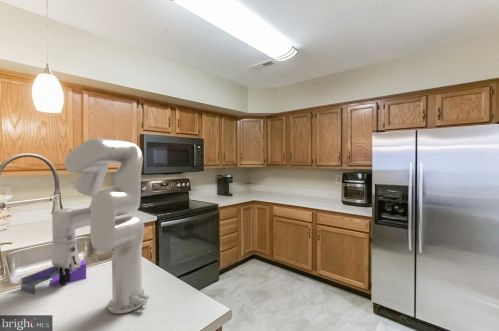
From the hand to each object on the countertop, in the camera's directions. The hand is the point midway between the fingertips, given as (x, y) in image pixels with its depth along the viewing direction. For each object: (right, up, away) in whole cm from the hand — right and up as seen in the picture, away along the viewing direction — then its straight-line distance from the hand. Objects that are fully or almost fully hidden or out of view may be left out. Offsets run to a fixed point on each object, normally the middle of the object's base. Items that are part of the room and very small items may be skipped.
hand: (64, 282), depth 99 cm
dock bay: (-7, -1, +2) cm, 7 cm away
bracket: (-2, -2, +5) cm, 5 cm away
